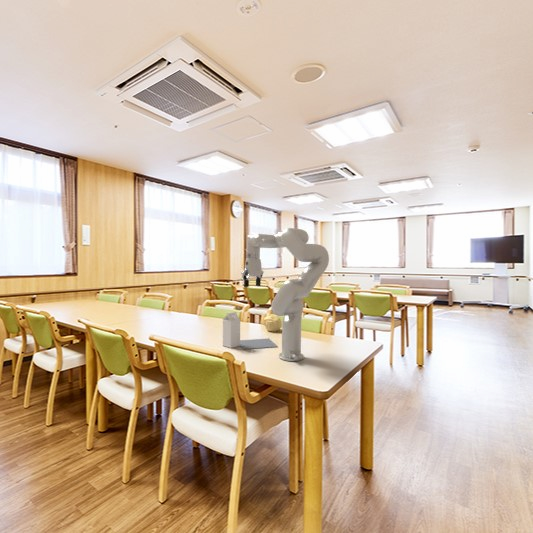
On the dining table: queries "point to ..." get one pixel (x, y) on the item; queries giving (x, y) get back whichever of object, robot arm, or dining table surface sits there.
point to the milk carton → (231, 330)
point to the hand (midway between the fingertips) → (252, 286)
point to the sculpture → (272, 323)
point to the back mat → (257, 344)
